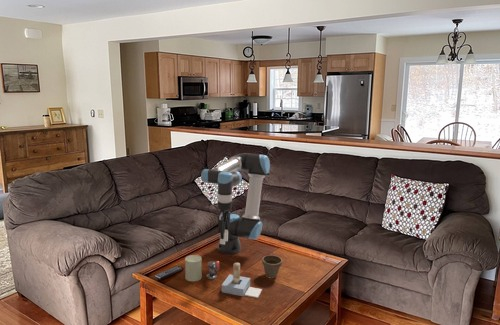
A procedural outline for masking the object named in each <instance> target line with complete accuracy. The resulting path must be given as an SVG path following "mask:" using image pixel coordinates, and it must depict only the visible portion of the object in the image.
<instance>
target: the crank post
mask: <svg viewBox="0 0 500 325" xmlns="http://www.w3.org/2000/svg"><path fill="white" fill-rule="evenodd" d="M208 268H209V267H208ZM208 270H209V272H208V273H207V274H206V276H205V277H206V279H209V280H215V279H217V278H218V275H217V273H216V272H215V270H214V269H213V268H209V269H208Z"/></svg>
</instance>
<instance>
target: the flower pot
mask: <svg viewBox="0 0 500 325" xmlns="http://www.w3.org/2000/svg"><path fill="white" fill-rule="evenodd" d="M261 262H262V265H263V270H264V275H265V277H266V278H269V277H270V278H269V279H275V278H277V276H278V273H279V270H280V267H282V265H283V259H282V258H281V257H280V256H278V255H273V254H268V255H265V256H263V257H262V259H261ZM274 277H275V278H274Z"/></svg>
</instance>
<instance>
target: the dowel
mask: <svg viewBox="0 0 500 325" xmlns="http://www.w3.org/2000/svg"><path fill="white" fill-rule="evenodd" d="M232 266H233V267H232V275H233V284H238V285H239V284H240V276H241V263H240V262H234V263H233V265H232Z"/></svg>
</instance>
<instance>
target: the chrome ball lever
mask: <svg viewBox="0 0 500 325" xmlns="http://www.w3.org/2000/svg"><path fill="white" fill-rule="evenodd" d="M207 268H213V269H214V272H219V270H220V261H219V260H216V261H214V260H211V261H208V262H207Z"/></svg>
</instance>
